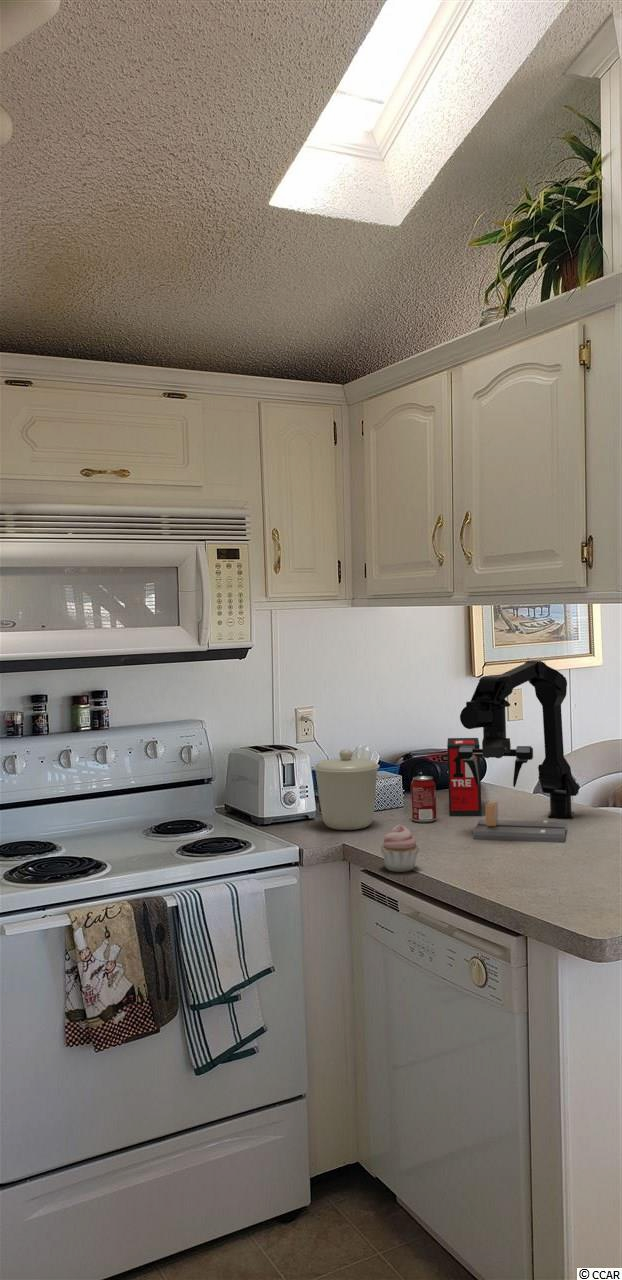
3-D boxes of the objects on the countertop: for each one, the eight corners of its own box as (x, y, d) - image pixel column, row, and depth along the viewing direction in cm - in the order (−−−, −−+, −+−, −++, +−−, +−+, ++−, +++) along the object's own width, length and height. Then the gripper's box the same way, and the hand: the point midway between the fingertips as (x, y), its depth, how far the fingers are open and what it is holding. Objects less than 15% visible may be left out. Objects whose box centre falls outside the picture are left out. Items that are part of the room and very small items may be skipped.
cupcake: (387, 876, 203) (385, 830, 203) (374, 865, 212) (372, 821, 212) (427, 872, 205) (426, 826, 205) (413, 861, 214) (411, 818, 214)
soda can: (435, 823, 254) (434, 779, 253) (410, 823, 255) (409, 779, 255) (437, 818, 260) (436, 775, 260) (413, 818, 262) (411, 775, 261)
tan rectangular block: (488, 825, 243) (488, 801, 243) (498, 825, 243) (497, 801, 243) (486, 830, 238) (485, 806, 238) (495, 830, 237) (495, 806, 237)
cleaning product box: (449, 804, 279) (447, 738, 279) (480, 804, 278) (478, 737, 277) (449, 816, 263) (447, 745, 262) (481, 816, 261) (479, 745, 261)
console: (480, 826, 248) (480, 818, 248) (566, 829, 241) (565, 820, 241) (473, 838, 235) (472, 829, 235) (563, 842, 228) (563, 832, 228)
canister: (316, 835, 245) (313, 755, 244) (313, 820, 263) (311, 746, 262) (385, 832, 245) (382, 752, 245) (377, 818, 263) (375, 743, 263)
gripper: (453, 728, 234) (455, 791, 234) (530, 729, 229) (531, 792, 229) (459, 724, 244) (460, 783, 245) (532, 724, 239) (534, 784, 239)
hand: (496, 786), depth 239 cm, fingers open, 9 cm apart
